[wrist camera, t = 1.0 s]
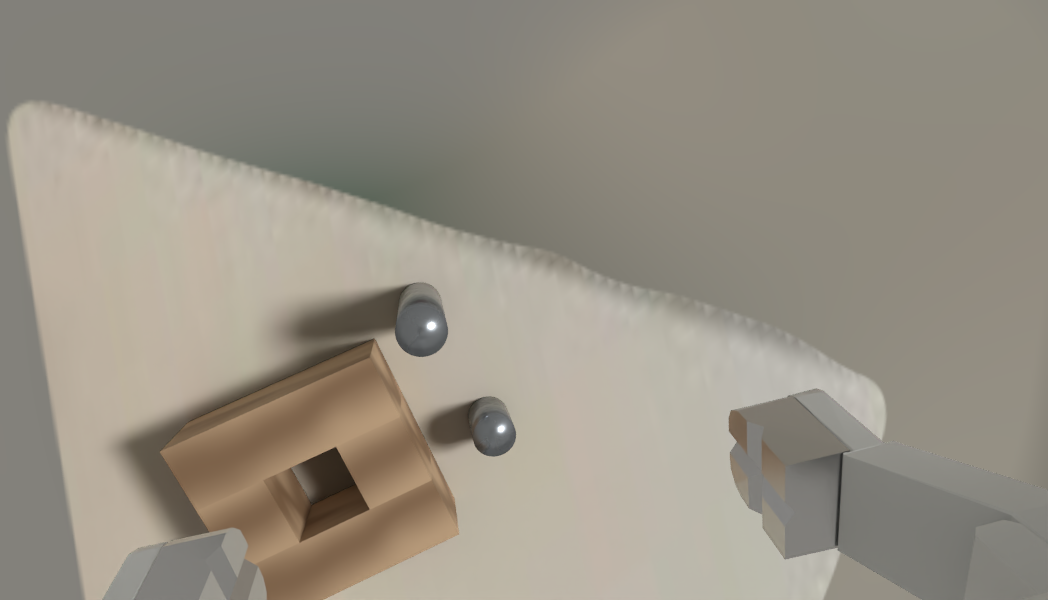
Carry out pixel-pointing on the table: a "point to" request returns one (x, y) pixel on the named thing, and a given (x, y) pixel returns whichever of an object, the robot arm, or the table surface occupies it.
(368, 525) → the hole block
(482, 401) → the short pin
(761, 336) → the table surface
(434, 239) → the table surface
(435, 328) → the tall pin
